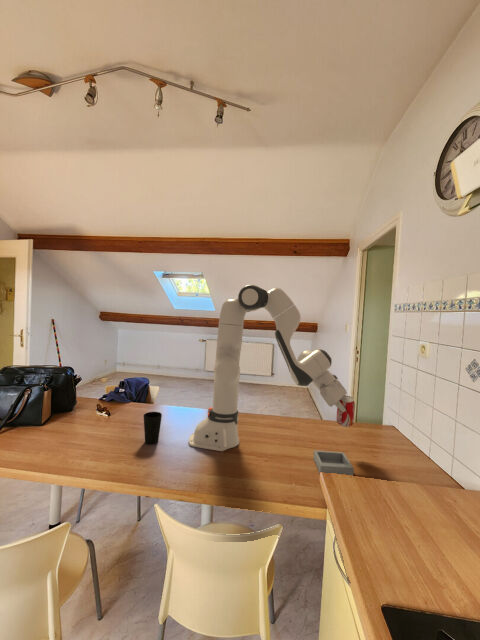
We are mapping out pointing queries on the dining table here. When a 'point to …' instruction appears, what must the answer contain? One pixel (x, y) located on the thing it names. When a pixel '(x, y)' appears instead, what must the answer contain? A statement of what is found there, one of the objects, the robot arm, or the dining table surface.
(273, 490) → the dining table surface
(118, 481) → the dining table surface
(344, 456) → the tray
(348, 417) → the soda can
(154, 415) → the cup
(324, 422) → the dining table surface
